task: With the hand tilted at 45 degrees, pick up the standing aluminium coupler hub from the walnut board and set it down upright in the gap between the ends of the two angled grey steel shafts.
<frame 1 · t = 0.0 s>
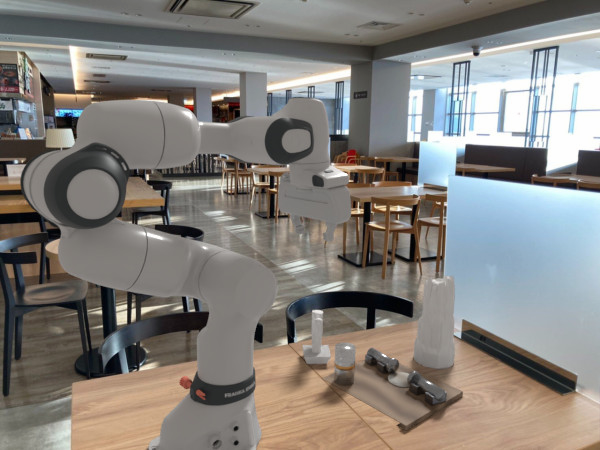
hand: (313, 236, 107), 39 cm above the table, tool pointing down, fingers open, 8 cm apart
walnut base board: (390, 389, 119), on the table
decorative vase: (433, 360, 135), on the table
white peg on base: (316, 364, 131), on the table
near steel shaft: (426, 387, 113), point 3 cm above the table
far steel shaft: (381, 359, 127), point 3 cm above the table
coupler hub: (344, 380, 120), point 1 cm above the table, touching walnut base board
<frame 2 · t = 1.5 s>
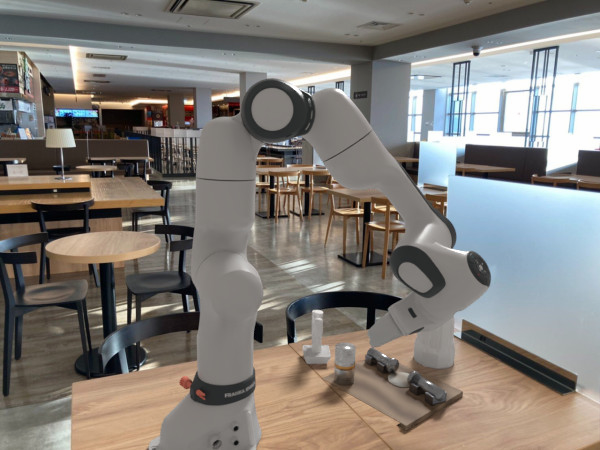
hand: (386, 338, 108), 17 cm above the table, tool tilted 45°, fingers open, 8 cm apart
nothing on the table moved.
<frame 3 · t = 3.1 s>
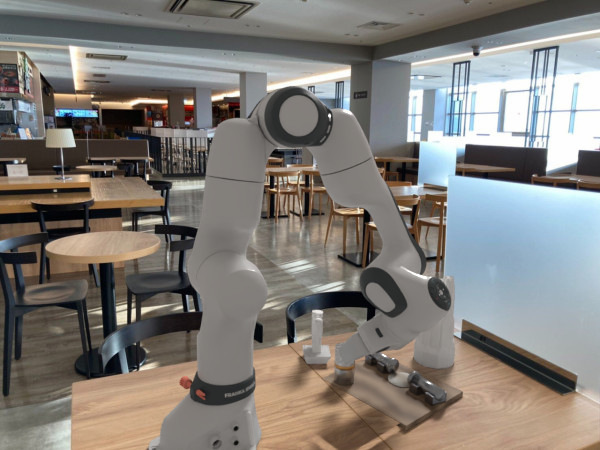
hand: (359, 354, 115), 10 cm above the table, tool tilted 45°, fingers open, 8 cm apart
nothing on the table moved.
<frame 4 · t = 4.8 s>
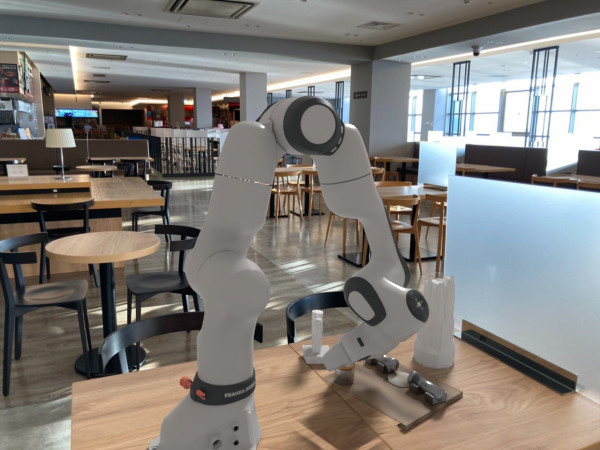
hand: (343, 361, 119), 6 cm above the table, tool tilted 45°, fingers closed on coupler hub, 5 cm apart
coupler hub: (344, 380, 120), point 1 cm above the table, touching gripper, walnut base board
everything else where it was.
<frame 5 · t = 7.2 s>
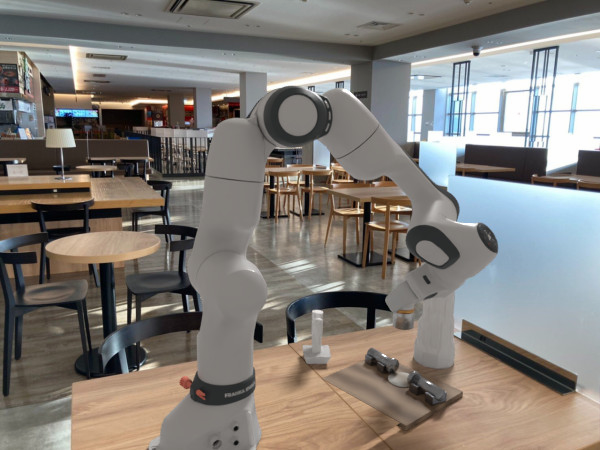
hand: (401, 306, 118), 20 cm above the table, tool tilted 45°, fingers closed on coupler hub, 5 cm apart
coupler hub: (403, 325, 118), point 15 cm above the table, touching gripper
everything else where it was.
when the fingers open (7 cm above the table, at t = 10.0 s): coupler hub drops 1 cm, resting on walnut base board.
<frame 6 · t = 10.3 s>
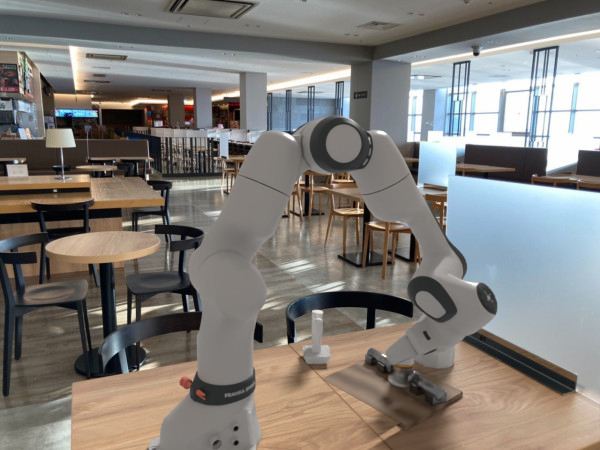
hand: (401, 356, 120), 7 cm above the table, tool tilted 45°, fingers open, 7 cm apart
coupler hub: (402, 379, 121), point 2 cm above the table, touching walnut base board
everything else where it was.
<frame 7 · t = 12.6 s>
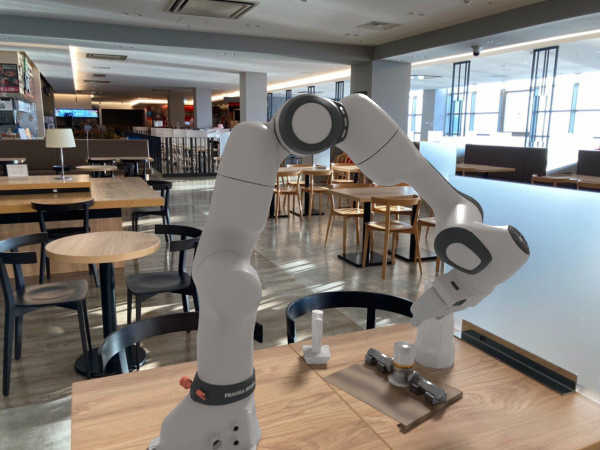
hand: (425, 320, 112), 19 cm above the table, tool tilted 40°, fingers open, 8 cm apart
nothing on the table moved.
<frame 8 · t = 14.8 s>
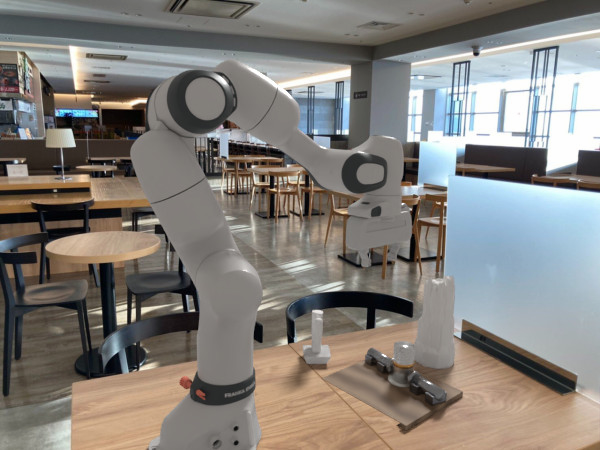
hand: (379, 263, 116), 31 cm above the table, tool pointing down, fingers open, 8 cm apart
nothing on the table moved.
at the end: coupler hub 0.0 cm from the target spot, point 1.5 cm above the table; coupler hub tilted 0°; the gripper is holding nothing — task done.
